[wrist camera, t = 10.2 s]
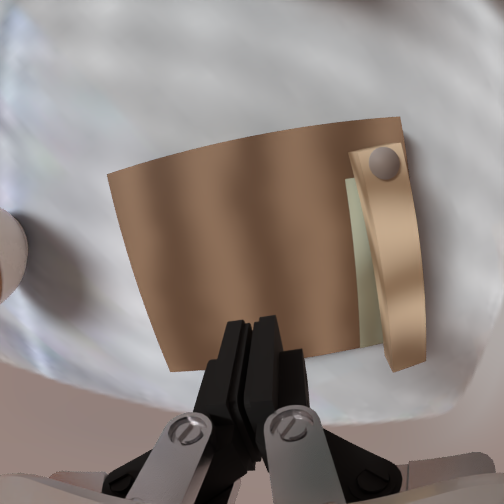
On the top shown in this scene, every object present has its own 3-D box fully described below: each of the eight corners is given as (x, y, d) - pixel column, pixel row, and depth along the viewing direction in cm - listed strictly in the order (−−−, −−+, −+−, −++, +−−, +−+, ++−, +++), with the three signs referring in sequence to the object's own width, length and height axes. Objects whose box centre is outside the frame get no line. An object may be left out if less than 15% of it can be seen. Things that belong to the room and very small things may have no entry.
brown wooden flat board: (385, 120, 22) (400, 116, 19) (401, 318, 27) (413, 335, 24) (123, 171, 24) (106, 174, 22) (178, 353, 30) (170, 372, 27)
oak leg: (347, 152, 20) (358, 152, 17) (385, 143, 20) (402, 142, 17) (383, 353, 25) (394, 374, 22) (414, 343, 24) (427, 362, 21)
